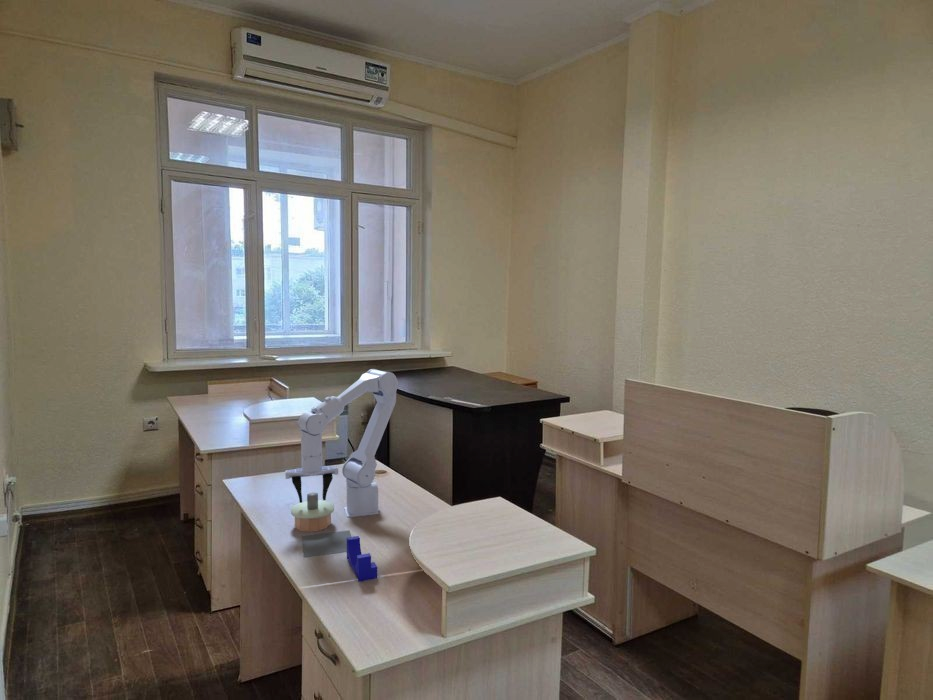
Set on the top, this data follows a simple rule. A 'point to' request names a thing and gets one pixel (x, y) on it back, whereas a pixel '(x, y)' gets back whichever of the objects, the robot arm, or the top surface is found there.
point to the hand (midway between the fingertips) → (312, 500)
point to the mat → (325, 543)
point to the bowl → (312, 523)
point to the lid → (312, 508)
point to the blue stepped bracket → (360, 560)
